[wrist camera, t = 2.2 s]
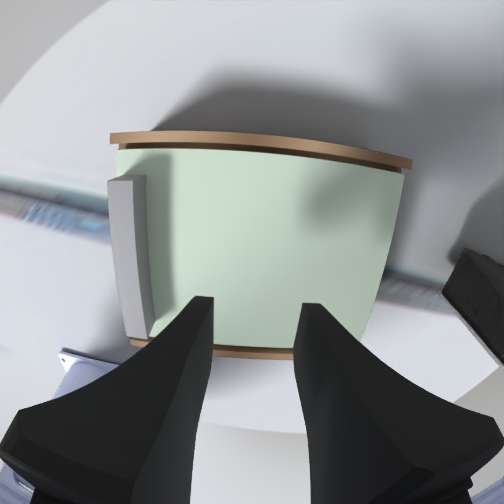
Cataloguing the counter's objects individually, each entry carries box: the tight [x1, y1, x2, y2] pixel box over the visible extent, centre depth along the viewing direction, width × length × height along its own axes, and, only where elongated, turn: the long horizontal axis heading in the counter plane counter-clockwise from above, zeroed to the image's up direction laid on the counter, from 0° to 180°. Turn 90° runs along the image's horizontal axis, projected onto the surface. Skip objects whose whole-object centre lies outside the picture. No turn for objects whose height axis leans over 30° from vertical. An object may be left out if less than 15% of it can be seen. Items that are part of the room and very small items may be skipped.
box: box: [110, 131, 412, 360], centre depth 16 cm, size 14×12×5 cm
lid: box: [107, 148, 405, 348], centre depth 13 cm, size 14×10×2 cm
